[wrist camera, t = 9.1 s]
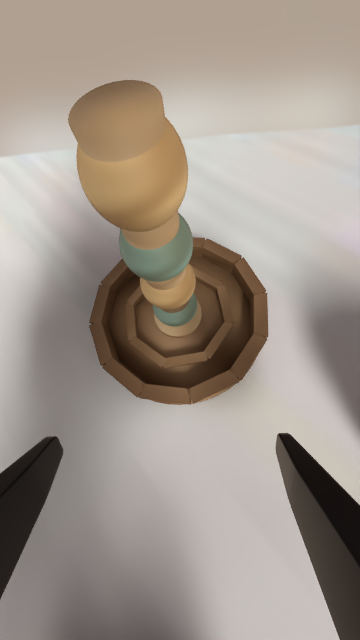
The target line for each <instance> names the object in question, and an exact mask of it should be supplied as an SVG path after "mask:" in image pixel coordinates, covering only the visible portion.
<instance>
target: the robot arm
mask: <svg viewBox="0 0 360 640" xmlns="http://www.w3.org/2000/svg"><path fill="white" fill-rule="evenodd" d="M276 454H277V458H278V462H279V465H280V469H281V473H282V477H283V480H284V484H285V488H286V492H287V495H288V499H289V502H290V505H291V508H292V511H293V513H294V516H295V519H296V522H297V524H298V527H299V530H300V532H301V535H302V538H303V541H304V543H305V546H306V549H307V551H308V554H309V557H310V560H311V562H312V565H313V568H314V571H315V573H316V576H317V579H318V581H319V584H320V587H321V590H322V592H323V595H324V598H325V600H326V603H327V606H328V609H329V611H330V614H331V617H332V619H333V622H334V625H335V628H336V630H337V633H338V636H339V639H340V640H360V505H359V504H358V503H357V502H356V501H355V500H354V499H353V498H352V497H351V496H350V495H349V494H348V493H347V492H346V491H345V490H344V489H343V488H342V487H341V486H340V485H339V484H338V483H337V482H336V481H335V480H334V479H333V478H332V476H331V475H330V474H329V473H328V472H327V471H326V470H325V469H324V468H323V467H322V466H321V465H320V464H319V463H318V462H317V461H316V460H315V459H314V458H313V457H312V456H311V455H310V454H309V453H308V452H307V451H306V450H305V449H304V448H303V447H302V446H301V445H300V444H299V443H298V442H297V441H296V440H295V439H294V438H293V437H292V436H291V435H290V434H288V433H279V434H278V435H277V441H276ZM62 455H63V448H62V446H61V444H60V441H59V439H58V438H57V437H56V436H49V437H46V438H44V439H43V440H42V441H40V442H39V443H38V444H37V445H35V446H34V447H33V448H32V449H30V450H29V451H28V452H27V453H25V454H24V455H23V456H22V457H20V458H19V459H18V460H17V461H15V462H14V463H13V464H12V465H10V466H9V467H8V468H7V469H5V470H4V471H3V472H2V473H0V599H1V597H2V594H3V592H4V590H5V588H6V586H7V584H8V581H9V579H10V577H11V575H12V573H13V571H14V568H15V566H16V564H17V562H18V560H19V557H20V555H21V553H22V551H23V549H24V547H25V544H26V542H27V540H28V538H29V536H30V533H31V531H32V529H33V527H34V525H35V523H36V520H37V518H38V516H39V514H40V512H41V510H42V507H43V505H44V503H45V501H46V498H47V496H48V493H49V491H50V488H51V485H52V483H53V480H54V477H55V474H56V472H57V469H58V466H59V463H60V461H61V458H62Z"/></svg>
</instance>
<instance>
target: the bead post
mask: <svg viewBox="0 0 360 640" xmlns="http://www.w3.org/2000/svg"><path fill="white" fill-rule="evenodd" d="M68 120H69V126H70V128H71V130H72V132H73V134H74V136H75V138H76V140H77V142H78V146H77V169H78V174H79V178H80V182H81V185H82V188H83V190H84V192H85V194H86V196H87V198H88V200H89V201H90V203H91V204H92V206H93V207H94V208H95V209H96V211H97V212H98V213H99V214H100V215H101V216H102V217H104V218H105V219H106V220H107V221H109V222H110V223H112V224H113V225H115V226H117V227H119V228H120V229H121V231H120V237H119V246H120V252H121V255H122V258H123V260H124V262H125V264H126V265H127V266H128V268H129V269H130V270H131V271H132V272H133V273H134V274H136V275H137V276H139V277H140V286H141V290H142V292H143V295H144V296H145V298H146V299H147V300H148V301H149V302H150V303H151V304H152V305H153V311H154V319H155V322H156V324H157V326H158V328H159V329H160V330H161V331H162V332H163V333H164V334H166V335H167V336H170V337H174V338H181V337H185V336H188V335H190V334H191V333H193V332H194V331H195V330H196V329H197V328H198V326H199V324H200V322H201V317H202V312H201V306H200V304H199V302H198V300H197V299H196V296H195V294H194V289H195V285H196V279H195V273H194V271H193V269H192V267H191V265H190V264H189V261H190V258H191V256H192V251H193V238H192V233H191V230H190V227H189V226H188V224H187V222H186V221H185V219H184V218H183V217H182V216H181V215H180V214H179V213H178V209H179V207H180V205H181V203H182V201H183V199H184V196H185V192H186V188H187V182H188V165H187V158H186V154H185V150H184V147H183V144H182V142H181V139H180V137H179V135H178V133H177V132H176V130H175V128H174V127H173V125H172V124H171V123H170V122H169V120H168V119H167V118H166V117H165V114H164V107H163V100H162V95H161V93H160V91H159V90H158V89H157V88H156V87H155V86H153V85H151V84H149V83H146V82H143V81H136V80H124V81H117V82H112V83H109V84H105V85H102V86H100V87H98V88H95V89H93V90H91V91H90V92H88V93H86V94H85V95H84V96H82V97H81V98H80V99H79V100H78V101H77V102H76V103H75V104H74V106H73V107H72V109H71V111H70V113H69V118H68Z"/></svg>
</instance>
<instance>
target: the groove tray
mask: <svg viewBox="0 0 360 640" xmlns="http://www.w3.org/2000/svg"><path fill="white" fill-rule="evenodd" d="M189 264H190V265H191V267H192V269H193V271H194V273H195V279H196V285H195V289H194V294H195V296H196V299H197V300H198V302H199V304H200V306H201V312H202V317H201V322H200V324H199V326H198V328H197V329H196V330H195V331H194V332H193V333H191V334H190V335H188V336H185V337H181V338H174V337H170V336H167V335H166V334H164V333H163V332H162V331H161V330H160V329H159V328H158V326H157V324H156V322H155V319H154V311H153V305H152V304H151V303H150V302H149V301H148V300H147V299H146V298H145V296H144V295H143V292H142V290H141V286H140V277H139V276H137V275H136V274H134V273H133V272H132V271H131V270H130V269H129V268H128V266H127V265H126V264H125V262H124V260H123V259H122V260H121V261H120V262H119V263H118V264H117V265H116V266H115V268H114V269H113V270H112V271H111V272H110V273H109V274H108V275H107V276H106V277H105V279H104V280H103V281H102V282H101V284H102V285H99V288H98V292H97V296H96V299H95V303H94V307H93V311H92V314H91V318H90V322H89V323H90V324H92V325H89V326H90V330H91V333H92V337H93V340H94V344H95V347H96V351H97V354H98V358H99V361H100V364H101V365H102V366H103V367H102V368H103V369H105V370H106V371H107V372H108V373H109V374H110V375H112V376H113V377H114V378H115V379H116V380H117V381H119V382H120V383H121V384H122V385H123V386H125V387H126V388H127V389H128V390H129V391H130V392H132V393H133V394H134V395H135V396H136V397H140V398H142V399H149V400H152V401H155V402H160V403H165V404H177V405H182V404H194V403H197V402H201V401H205V400H208V399H210V398H213V397H215V396H218V395H219V394H221V393H223V392H225V391H226V390H228V389H229V388H231V387H232V386H233V385H235V384H236V383H238V382H239V381H240V380H242V379H243V377H244V376H245V374H246V373H247V372H248V370H249V369H250V367H251V366H252V365H253V363H254V361H255V359H256V357H257V356H258V354H259V352H260V350H261V349H262V347H263V345H264V344H265V342H266V341H267V339H266V338H267V337H268V309H267V293H265V292H266V290H265V288H264V287H263V285H262V284H261V282H260V281H259V279H258V278H257V276H256V275H255V273H254V272H253V270H252V269H251V268H250V266H249V265H248V263H247V262H246V260H245V259H244V258H242V259H241V255H239V254H237V253H235V252H233V251H231V250H229V249H227V248H225V247H223V246H221V245H219V244H217V243H215V242H213V241H211V240H209V239H206V241H205V238H193V251H192V256H191V258H190V261H189Z"/></svg>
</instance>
